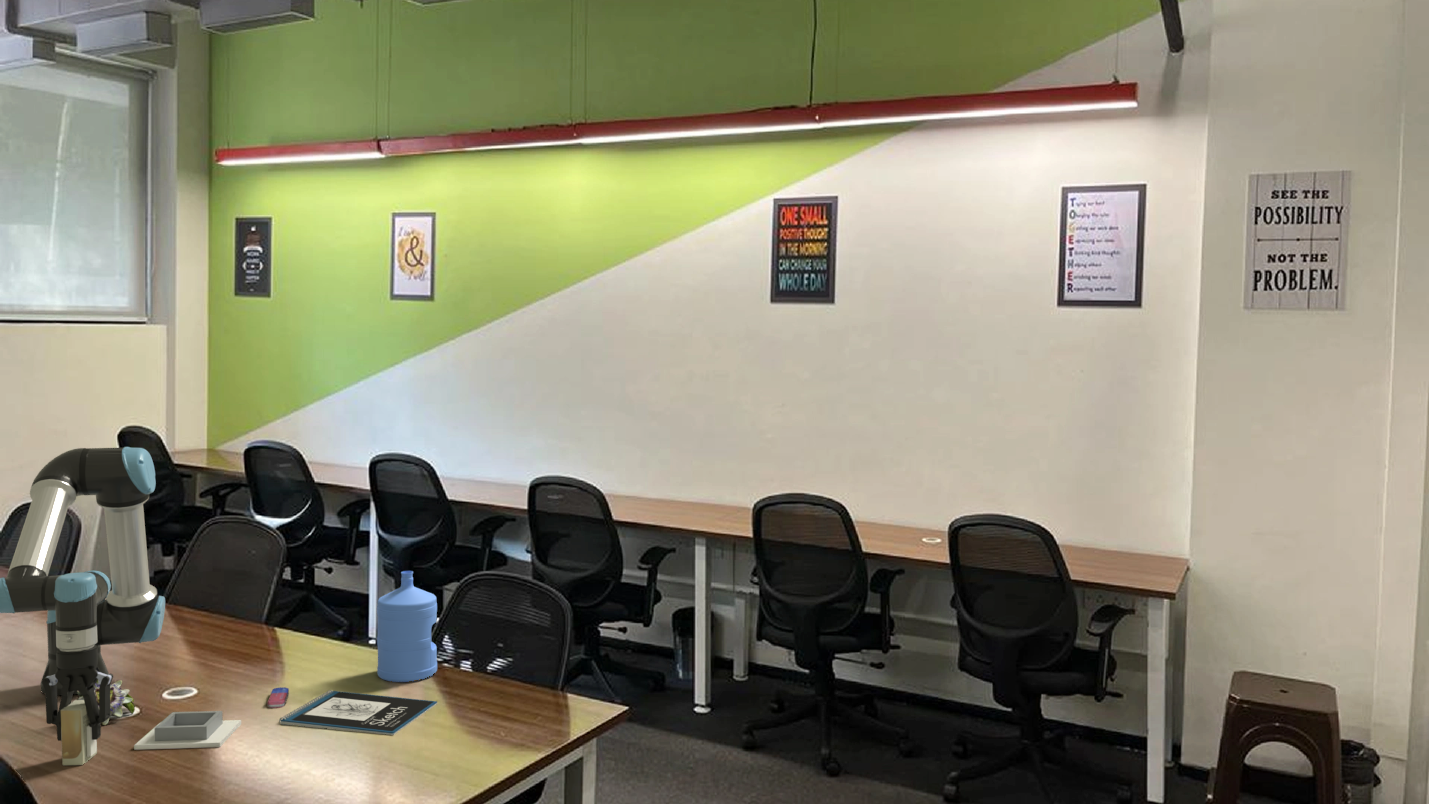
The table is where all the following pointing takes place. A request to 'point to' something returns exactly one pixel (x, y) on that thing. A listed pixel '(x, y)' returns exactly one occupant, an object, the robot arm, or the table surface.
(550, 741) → the table surface
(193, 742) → the socket board
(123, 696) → the passion flower
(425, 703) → the sketchbook
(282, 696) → the eraser
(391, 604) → the water jug
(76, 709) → the skincare box
